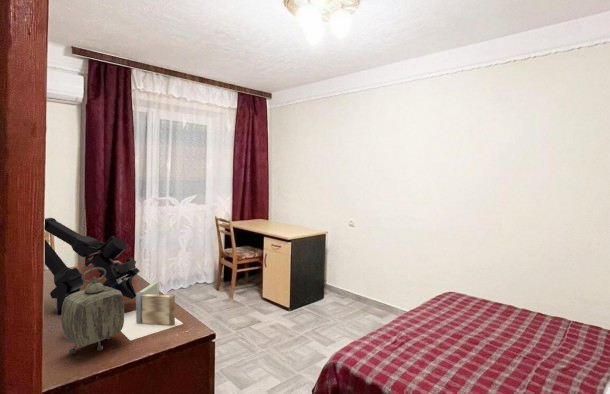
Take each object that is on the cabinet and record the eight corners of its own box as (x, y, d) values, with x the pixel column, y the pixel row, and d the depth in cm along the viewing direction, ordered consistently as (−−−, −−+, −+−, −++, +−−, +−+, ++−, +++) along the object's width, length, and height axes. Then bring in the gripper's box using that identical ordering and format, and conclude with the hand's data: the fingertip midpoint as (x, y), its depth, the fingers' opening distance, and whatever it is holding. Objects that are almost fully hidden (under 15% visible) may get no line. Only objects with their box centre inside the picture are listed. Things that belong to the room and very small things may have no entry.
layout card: (130, 341, 108) (130, 340, 108) (107, 318, 124) (107, 317, 124) (183, 324, 121) (183, 323, 121) (156, 305, 137) (156, 304, 137)
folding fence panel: (140, 322, 120) (140, 294, 119) (135, 322, 120) (134, 293, 119) (159, 306, 134) (159, 280, 133) (154, 306, 134) (154, 280, 133)
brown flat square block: (141, 323, 120) (141, 294, 119) (144, 321, 121) (144, 292, 121) (173, 325, 119) (173, 296, 118) (175, 323, 121) (175, 294, 120)
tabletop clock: (111, 335, 111) (110, 260, 110) (128, 343, 107) (127, 265, 105) (62, 355, 99) (59, 271, 97) (78, 365, 94) (76, 276, 93)
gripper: (104, 259, 117) (135, 292, 117) (135, 247, 136) (161, 276, 136) (83, 279, 118) (113, 312, 119) (116, 265, 137) (142, 294, 137)
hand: (134, 297), depth 128 cm, fingers closed
